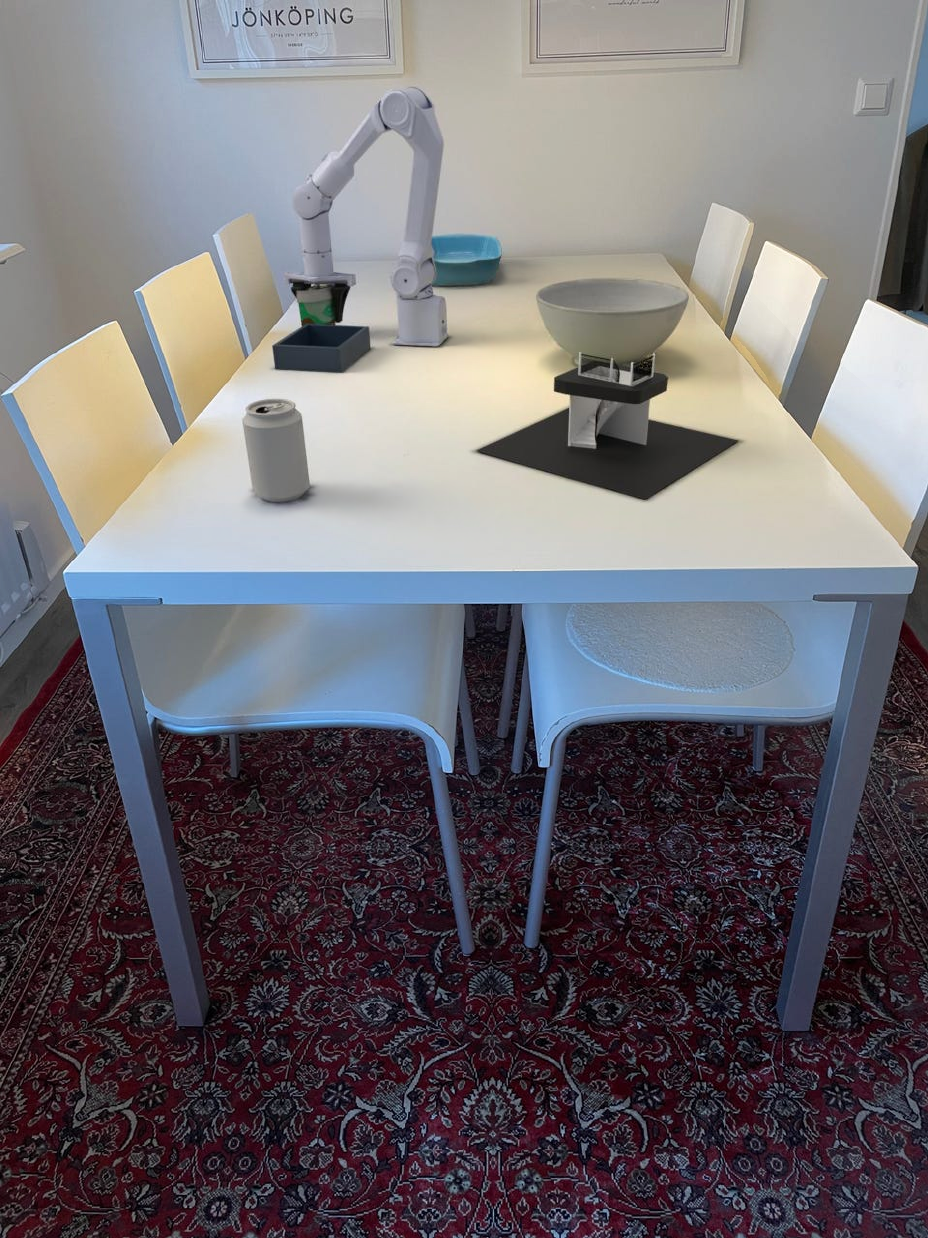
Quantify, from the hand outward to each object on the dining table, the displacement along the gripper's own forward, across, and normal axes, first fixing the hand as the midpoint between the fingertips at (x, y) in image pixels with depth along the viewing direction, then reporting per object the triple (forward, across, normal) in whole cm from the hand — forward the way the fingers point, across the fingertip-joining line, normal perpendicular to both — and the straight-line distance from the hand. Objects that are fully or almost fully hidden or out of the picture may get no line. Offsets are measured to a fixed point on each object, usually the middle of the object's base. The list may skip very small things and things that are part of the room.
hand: (323, 321), depth 191 cm
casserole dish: (+3, +12, +63) cm, 64 cm away
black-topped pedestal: (+3, +64, -52) cm, 83 cm away
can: (+3, +24, -77) cm, 81 cm away
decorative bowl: (+3, +59, -9) cm, 60 cm away
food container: (+3, 0, 0) cm, 3 cm away
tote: (+3, +6, -16) cm, 17 cm away
